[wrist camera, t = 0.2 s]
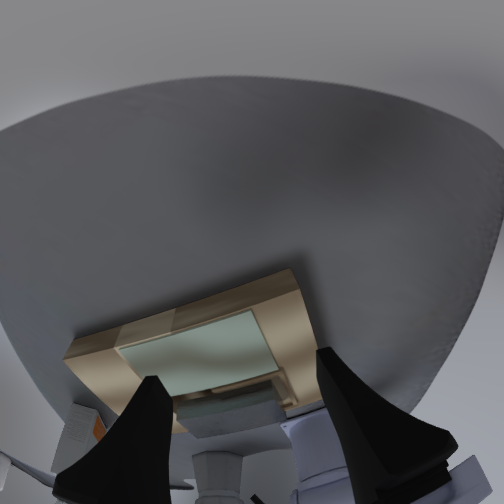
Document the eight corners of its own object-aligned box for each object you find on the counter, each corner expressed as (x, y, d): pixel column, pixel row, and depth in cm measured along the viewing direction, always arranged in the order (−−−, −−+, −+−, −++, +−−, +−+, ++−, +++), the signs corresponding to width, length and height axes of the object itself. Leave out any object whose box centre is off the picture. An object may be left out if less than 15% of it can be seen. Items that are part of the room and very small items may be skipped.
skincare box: (108, 429, 29) (94, 495, 18) (83, 422, 28) (66, 485, 18) (98, 409, 27) (79, 483, 16) (71, 401, 26) (48, 471, 15)
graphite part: (283, 401, 23) (287, 419, 21) (198, 421, 23) (197, 438, 21) (271, 379, 21) (274, 399, 19) (177, 401, 22) (176, 420, 20)
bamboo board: (323, 374, 26) (332, 398, 23) (147, 416, 27) (143, 438, 24) (289, 267, 20) (301, 291, 17) (73, 339, 22) (60, 362, 19)
